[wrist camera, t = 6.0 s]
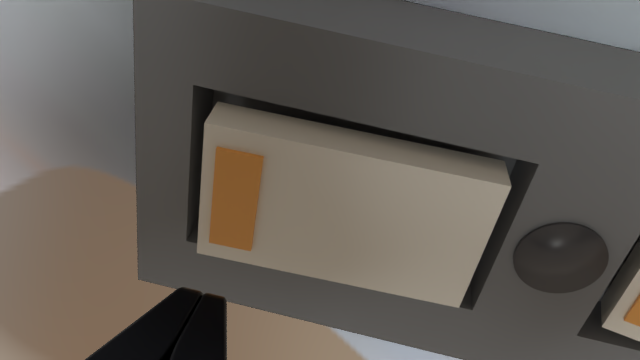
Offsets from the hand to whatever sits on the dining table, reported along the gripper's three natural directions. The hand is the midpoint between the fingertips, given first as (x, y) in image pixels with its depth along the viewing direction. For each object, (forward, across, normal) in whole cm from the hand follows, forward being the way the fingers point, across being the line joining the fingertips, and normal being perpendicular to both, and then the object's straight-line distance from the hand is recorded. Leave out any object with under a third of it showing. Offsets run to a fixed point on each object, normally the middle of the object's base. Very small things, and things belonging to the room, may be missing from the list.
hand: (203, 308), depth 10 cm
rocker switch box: (+7, -7, 0) cm, 10 cm away
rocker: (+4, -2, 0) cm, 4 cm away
